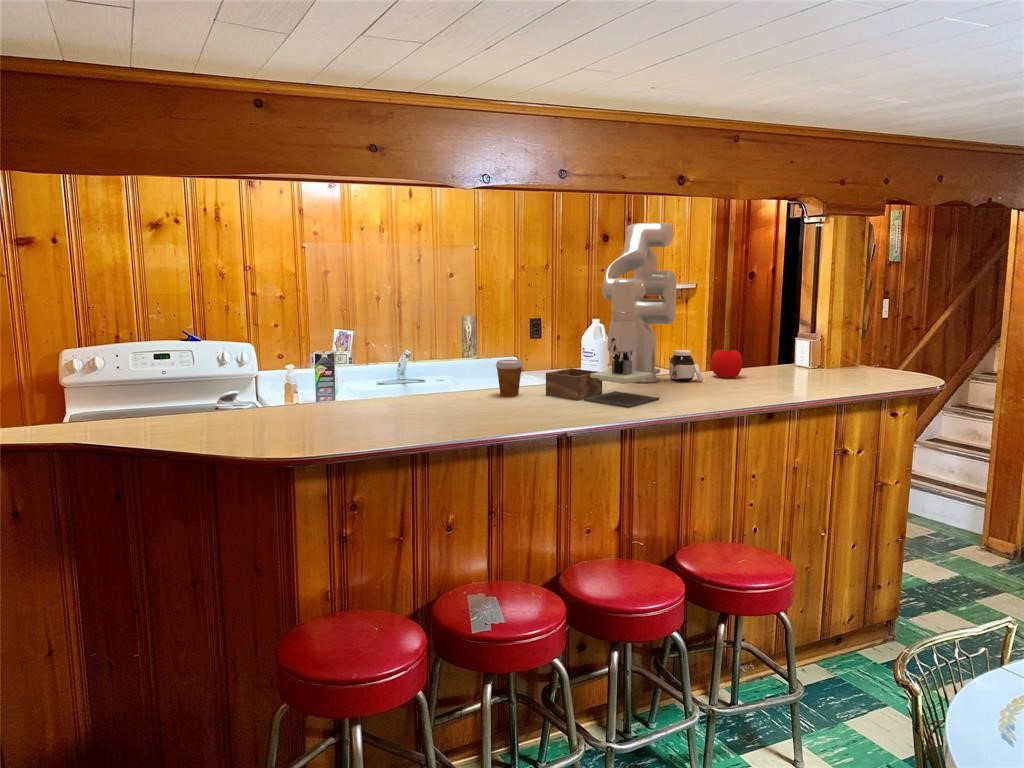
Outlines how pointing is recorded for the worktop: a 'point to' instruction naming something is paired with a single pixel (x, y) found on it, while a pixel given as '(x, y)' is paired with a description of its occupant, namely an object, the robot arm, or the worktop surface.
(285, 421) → the worktop surface
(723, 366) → the red apple
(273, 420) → the worktop surface
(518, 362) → the disposable coffee cup
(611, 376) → the lid
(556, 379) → the box
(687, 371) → the spread jar
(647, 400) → the mat
